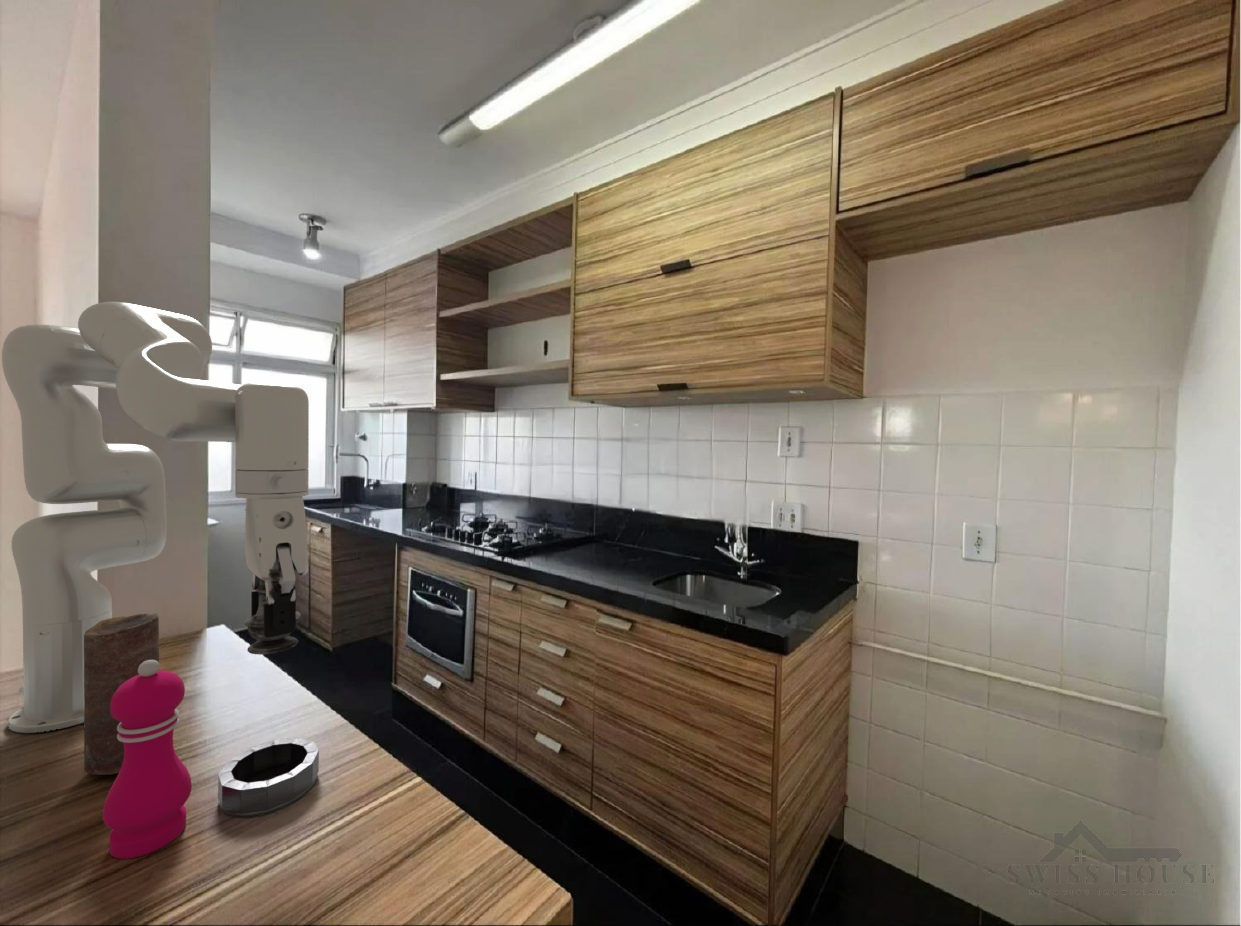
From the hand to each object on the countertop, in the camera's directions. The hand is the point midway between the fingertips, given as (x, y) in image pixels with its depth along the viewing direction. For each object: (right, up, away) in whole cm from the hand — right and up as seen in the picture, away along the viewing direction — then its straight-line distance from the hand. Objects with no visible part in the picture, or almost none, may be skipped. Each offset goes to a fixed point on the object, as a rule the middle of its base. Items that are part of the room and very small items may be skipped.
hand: (273, 625), depth 64 cm
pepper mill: (-9, -21, -7) cm, 24 cm away
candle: (-23, -20, +4) cm, 31 cm away
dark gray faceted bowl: (-1, -21, +1) cm, 21 cm away
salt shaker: (0, -3, 0) cm, 3 cm away
